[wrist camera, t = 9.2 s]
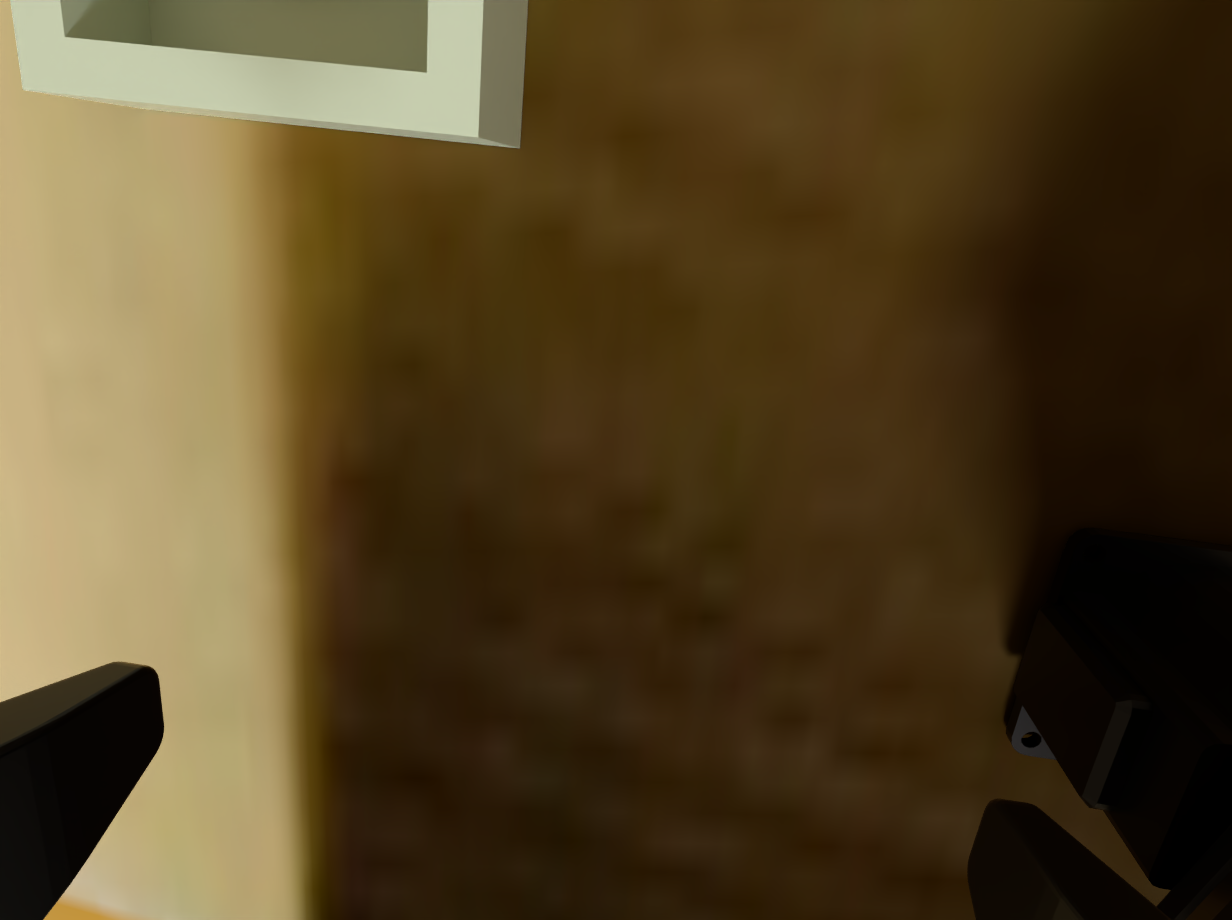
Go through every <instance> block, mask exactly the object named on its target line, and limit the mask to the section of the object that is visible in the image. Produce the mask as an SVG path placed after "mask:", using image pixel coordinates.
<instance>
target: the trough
mask: <svg viewBox="0 0 1232 920" xmlns="http://www.w3.org/2000/svg"><path fill="white" fill-rule="evenodd" d="M10 2H11V9H12V16H13V23H14V30H15V37H16V44H17V52H18V59H19V66H20V73H21V80H22V87H23V90H26V91H32V92H39V93H45V94H51V95H58V96H64V97H70V98H77V99H83V100H90V101H96V102H102V103H109V104H115V105H122V106H128V107H134V108H141V109H148V110H157V111H167V112H177V113H186V114H196V115H205V116H215V117H224V118H234V119H244V120H253V121H263V122H272V123H282V124H291V125H301V126H310V127H320V128H330V129H339V130H349V131H358V132H368V133H377V134H387V135H397V136H406V137H416V138H425V139H435V140H444V141H454V142H464V143H473V144H483V145H492V146H502V147H511V148H520V139H521V121H522V103H523V85H524V67H525V49H526V31H527V12H528V0H10Z"/></svg>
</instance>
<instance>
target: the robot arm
mask: <svg viewBox="0 0 1232 920" xmlns="http://www.w3.org/2000/svg"><path fill="white" fill-rule="evenodd" d="M1092 544H1098V548H1097V550H1096V551H1095V553H1093V554H1091V555H1088V556H1084V551H1085V549H1086V548H1087V547H1088V546H1090V545H1092ZM1013 691H1014V693H1015V695H1016V700H1015V703H1014V706H1013V709H1012V712H1011V715H1010V718H1009V721H1008V724H1007V727H1006V734H1007V737H1008V739H1009V741H1010V742H1011V744H1012V746H1013V748H1014V749H1015V750H1016V751H1018V752H1019V753H1021V754H1024V755H1028V756H1035V757H1042V758H1048V759H1055V760H1057V761H1058V763H1059V764H1060V766H1061V768H1062V769H1063V771H1064V772H1065V774H1066V776H1067V777H1068V779H1069V780H1070V782H1071V783H1072V785H1073V787H1074V788H1075V790H1076V791H1077V793H1078V795H1079V796H1080V797H1081V799H1082V800H1083V801H1084V803H1085V804H1086V805H1087V806H1088V807H1089V808H1093V809H1100V810H1103V811H1104V812H1105V814H1106V815H1107V817H1108V818H1109V820H1110V822H1111V823H1112V825H1113V826H1114V828H1115V829H1116V831H1117V832H1118V834H1119V835H1120V837H1121V838H1122V840H1123V841H1124V843H1125V844H1126V846H1127V848H1128V849H1129V851H1130V852H1131V854H1132V855H1133V857H1134V858H1135V860H1136V861H1137V863H1138V864H1139V866H1140V867H1141V869H1142V870H1143V872H1144V874H1145V875H1146V877H1147V878H1148V880H1149V881H1150V882H1151V884H1152V885H1153V886H1156V887H1158V888H1162V889H1168V890H1171V891H1170V892H1169V893H1168V894H1167V895H1166V896H1165V897H1164V899H1163V900H1162V901H1161V902H1160V903H1159V904H1158V905H1157V906H1155V905H1153V904H1152V903H1151V902H1150V901H1149V900H1147V899H1146V898H1145V897H1144V896H1143V895H1142V894H1140V893H1139V892H1138V891H1137V890H1136V889H1134V888H1133V887H1132V886H1131V885H1130V884H1128V883H1127V882H1126V881H1125V880H1124V879H1123V878H1121V877H1120V876H1119V875H1118V874H1117V873H1115V872H1114V871H1113V870H1112V869H1111V868H1110V867H1108V866H1107V865H1106V864H1105V863H1104V862H1102V861H1101V860H1100V859H1099V858H1098V857H1096V856H1095V855H1094V854H1093V853H1092V852H1091V851H1089V850H1088V849H1087V848H1086V847H1085V846H1083V845H1082V844H1081V843H1080V842H1079V841H1077V840H1076V839H1075V838H1074V837H1073V836H1072V835H1070V834H1069V833H1068V832H1067V831H1066V830H1064V829H1063V828H1062V827H1061V826H1060V825H1058V824H1057V823H1056V822H1055V821H1054V820H1053V819H1051V818H1050V817H1049V816H1048V815H1047V814H1045V813H1044V812H1043V811H1042V810H1041V809H1039V808H1038V807H1037V806H1035V805H1032V804H1029V803H1024V802H1018V801H1011V800H1005V799H994V800H992V801H990V802H989V803H988V805H987V806H986V808H985V810H984V814H983V817H982V820H981V823H980V826H979V829H978V832H977V835H976V838H975V841H974V844H973V847H972V850H971V853H970V856H969V860H968V883H969V889H970V894H971V898H972V903H973V908H974V913H975V917H976V920H1232V546H1227V545H1219V544H1212V543H1204V542H1197V541H1189V540H1181V539H1174V538H1166V537H1158V536H1151V535H1143V534H1135V533H1128V532H1120V531H1113V530H1105V529H1097V528H1084V529H1082V530H1079V531H1076V532H1075V533H1074V534H1073V535H1072V536H1070V538H1069V539H1068V541H1067V543H1066V546H1065V549H1064V552H1063V555H1062V558H1061V561H1060V564H1059V567H1058V570H1057V573H1056V576H1055V579H1054V582H1053V586H1052V589H1051V592H1050V595H1049V598H1048V601H1047V603H1046V604H1045V605H1044V606H1042V607H1041V608H1040V609H1039V610H1038V612H1037V615H1036V618H1035V621H1034V625H1033V628H1032V631H1031V634H1030V637H1029V640H1028V643H1027V646H1026V649H1025V653H1024V656H1023V659H1022V662H1021V665H1020V668H1019V671H1018V674H1017V677H1016V681H1015V684H1014V687H1013ZM1028 732H1035V733H1034V734H1033V735H1032V736H1030V737H1028V738H1022V737H1023V735H1024V734H1026V733H1028ZM163 733H164V721H163V712H162V703H161V694H160V685H159V678H158V674H157V673H156V671H155V670H154V669H153V668H151V667H150V666H146V665H140V664H133V663H127V662H112V663H109V664H106V665H103V666H100V667H98V668H95V669H92V670H89V671H86V672H84V673H81V674H78V675H75V676H73V677H70V678H67V679H64V680H61V681H59V682H56V683H53V684H50V685H47V686H45V687H42V688H39V689H36V690H33V691H31V692H28V693H25V694H22V695H19V696H17V697H14V698H11V699H8V700H6V701H3V702H0V920H43V919H44V918H45V917H46V915H47V914H48V912H49V911H50V910H51V909H52V907H53V906H54V905H55V904H56V902H57V901H58V900H59V898H60V897H61V896H62V894H63V893H64V892H65V890H66V889H67V888H68V886H69V885H70V884H71V882H72V881H73V879H74V878H75V877H76V875H77V874H78V872H79V871H80V869H81V868H82V866H83V865H84V863H85V862H86V861H87V859H88V858H89V856H90V855H91V853H92V851H93V850H94V848H95V847H96V845H97V844H98V842H99V841H100V839H101V838H102V836H103V834H104V833H105V831H106V830H107V828H108V827H109V825H110V824H111V822H112V821H113V819H114V818H115V816H116V814H117V813H118V811H119V810H120V808H121V807H122V805H123V804H124V802H125V801H126V799H127V797H128V796H129V794H130V793H131V791H132V790H133V788H134V787H135V785H136V784H137V782H138V780H139V779H140V777H141V776H142V774H143V773H144V771H145V770H146V768H147V767H148V765H149V764H150V762H151V760H152V759H153V757H154V756H155V754H156V753H157V751H158V749H159V747H160V744H161V742H162V738H163Z"/></svg>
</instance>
